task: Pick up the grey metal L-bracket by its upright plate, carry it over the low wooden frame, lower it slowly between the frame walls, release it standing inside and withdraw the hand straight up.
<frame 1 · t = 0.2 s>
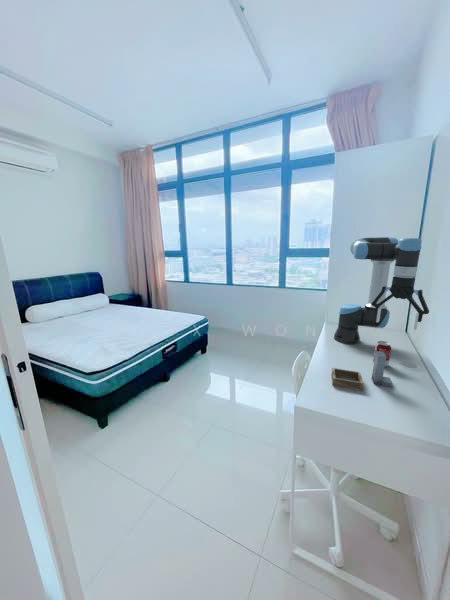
hand: (395, 325, 107), 27 cm above the table, fingers open, 13 cm apart
soda can: (380, 364, 128), on the table
bracket: (376, 382, 112), on the table
wooden frame: (346, 382, 112), on the table
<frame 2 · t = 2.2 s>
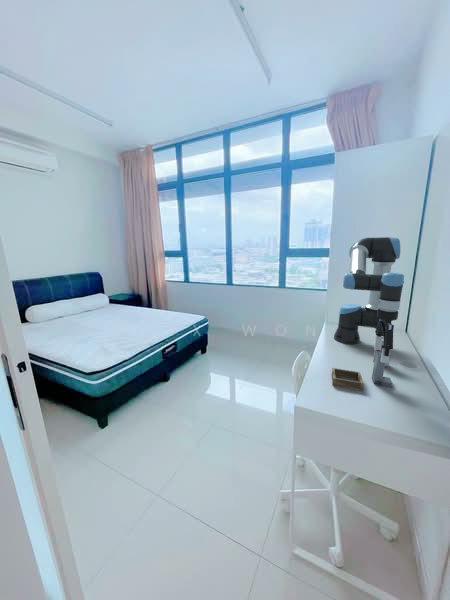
hand: (380, 355, 109), 13 cm above the table, fingers open, 13 cm apart
nothing on the table moved.
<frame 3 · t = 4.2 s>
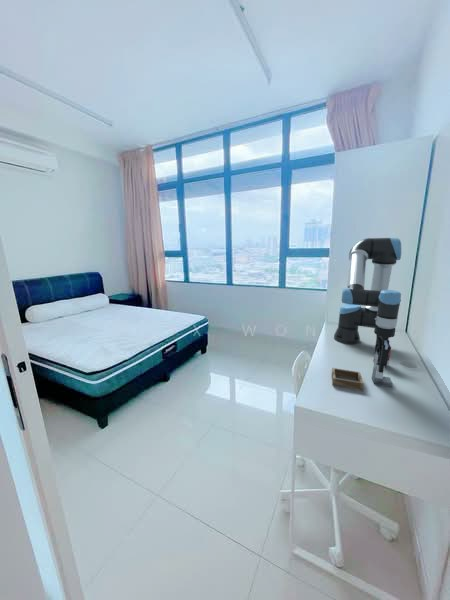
hand: (377, 374, 111), 4 cm above the table, fingers closed on bracket, 5 cm apart
bracket: (376, 381, 112), on the table, touching gripper
everything else where it was.
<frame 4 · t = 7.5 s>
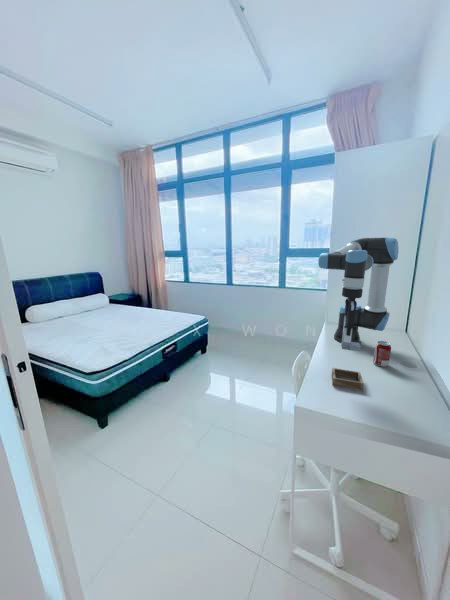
hand: (346, 339, 108), 21 cm above the table, fingers closed on bracket, 5 cm apart
bracket: (345, 347, 109), point 17 cm above the table, touching gripper
everything else where it was.
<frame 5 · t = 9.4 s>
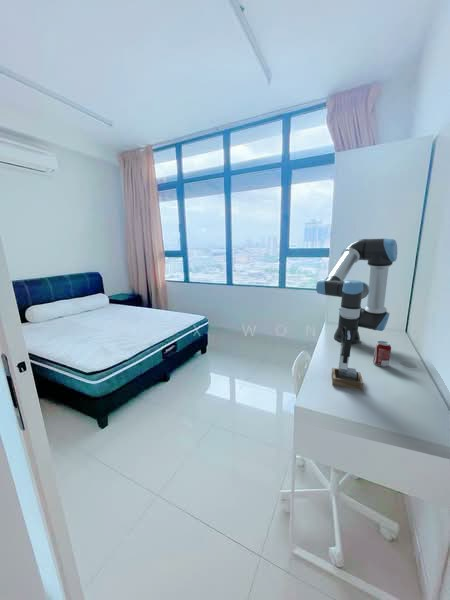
hand: (343, 365, 111), 8 cm above the table, fingers closed on bracket, 5 cm apart
bracket: (342, 373, 112), point 4 cm above the table, touching gripper
everything else where it was.
when the fingers open (5 cm above the table, at t = 10.8 s): bracket stays where it is, resting on wooden frame.
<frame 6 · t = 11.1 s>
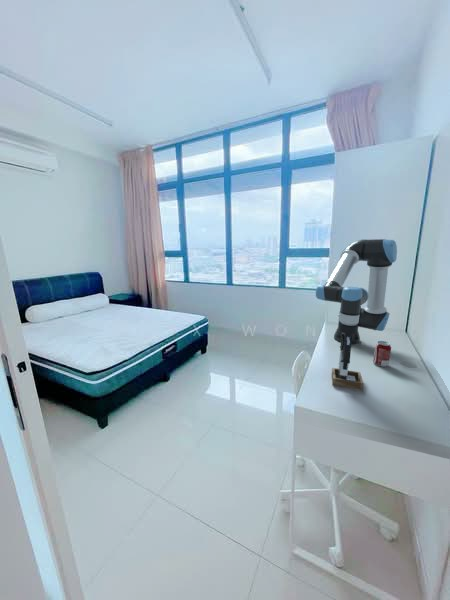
hand: (342, 369, 112), 6 cm above the table, fingers open, 9 cm apart
bracket: (341, 380, 113), resting on wooden frame
everything else where it was.
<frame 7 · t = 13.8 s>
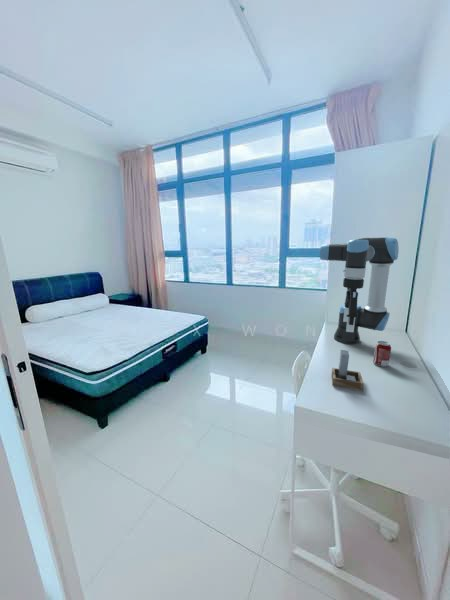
hand: (348, 326, 107), 27 cm above the table, fingers open, 13 cm apart
nothing on the table moved.
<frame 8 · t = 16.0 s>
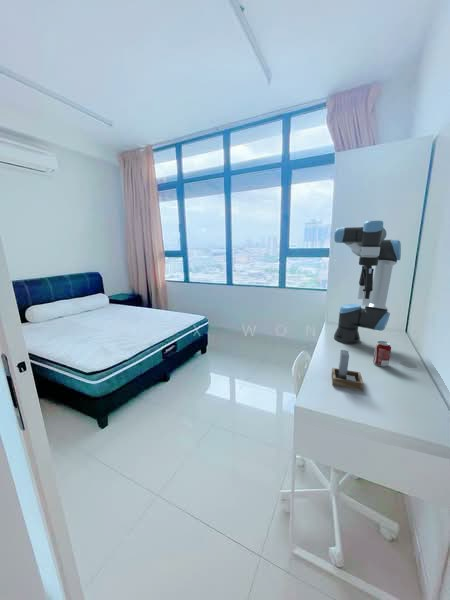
hand: (363, 302, 116), 35 cm above the table, fingers open, 13 cm apart
nothing on the table moved.
at the end: bracket 0.0 cm from the target spot on the wooden frame, point 0.4 cm above the wooden frame's base; bracket tilted 0°; the gripper is holding nothing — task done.
